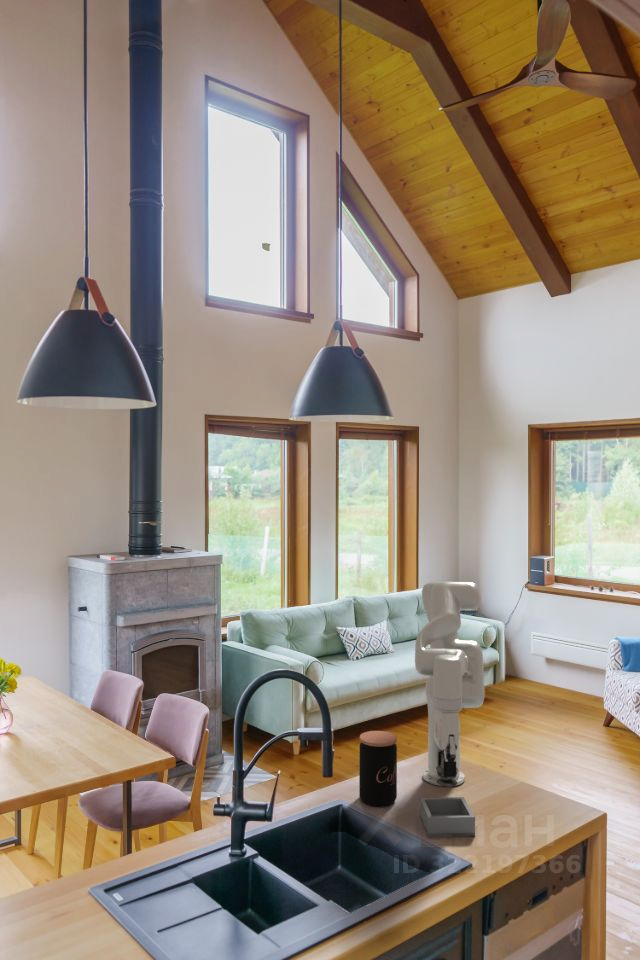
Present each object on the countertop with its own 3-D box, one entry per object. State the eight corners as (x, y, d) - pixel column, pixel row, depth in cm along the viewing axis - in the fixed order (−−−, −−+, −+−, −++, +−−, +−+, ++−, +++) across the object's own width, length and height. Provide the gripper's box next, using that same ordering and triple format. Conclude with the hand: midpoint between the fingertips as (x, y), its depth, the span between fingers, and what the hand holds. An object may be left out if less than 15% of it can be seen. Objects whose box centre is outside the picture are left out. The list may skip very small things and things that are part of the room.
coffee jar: (378, 811, 211) (378, 746, 210) (351, 799, 219) (351, 736, 218) (404, 800, 218) (404, 737, 217) (377, 788, 226) (377, 728, 225)
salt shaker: (458, 787, 198) (458, 741, 198) (435, 785, 199) (435, 739, 199) (458, 779, 204) (458, 734, 204) (436, 777, 205) (436, 732, 205)
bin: (419, 816, 208) (420, 798, 208) (463, 815, 208) (463, 797, 208) (428, 837, 196) (428, 818, 196) (475, 836, 196) (475, 817, 196)
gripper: (426, 693, 210) (426, 759, 210) (440, 713, 193) (439, 784, 193) (453, 693, 210) (453, 759, 211) (469, 712, 193) (469, 784, 193)
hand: (447, 770), depth 202 cm, fingers closed on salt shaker, 5 cm apart
